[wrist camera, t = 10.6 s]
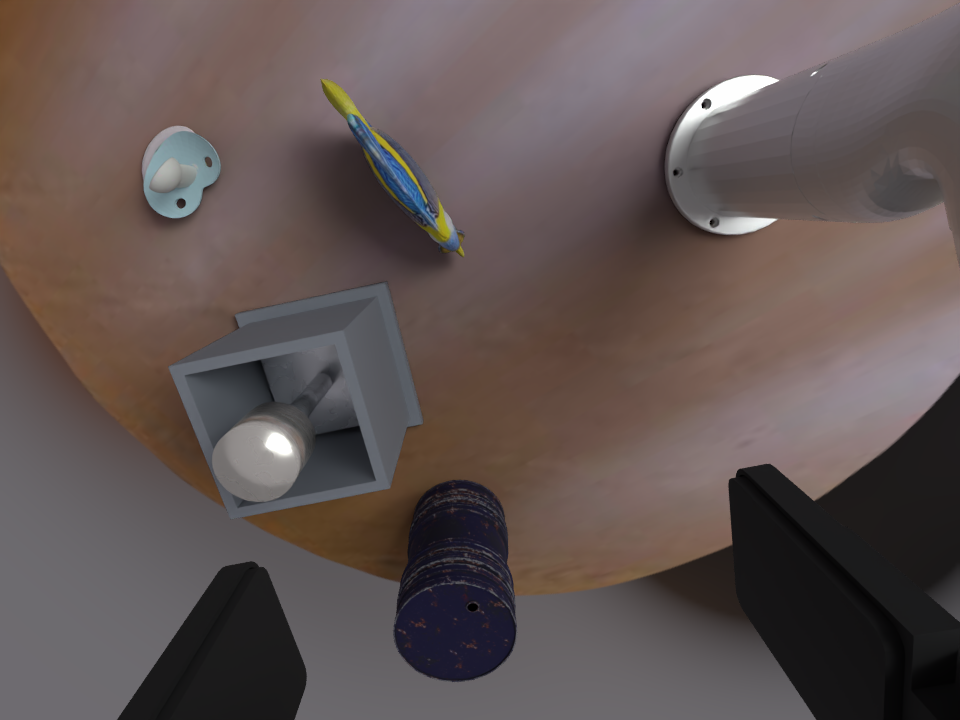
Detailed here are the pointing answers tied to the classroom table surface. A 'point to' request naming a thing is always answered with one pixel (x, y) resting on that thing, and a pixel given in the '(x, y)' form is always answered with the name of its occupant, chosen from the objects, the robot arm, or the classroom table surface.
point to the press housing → (369, 376)
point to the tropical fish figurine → (398, 174)
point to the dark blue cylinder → (456, 585)
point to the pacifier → (178, 170)
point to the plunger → (284, 424)
